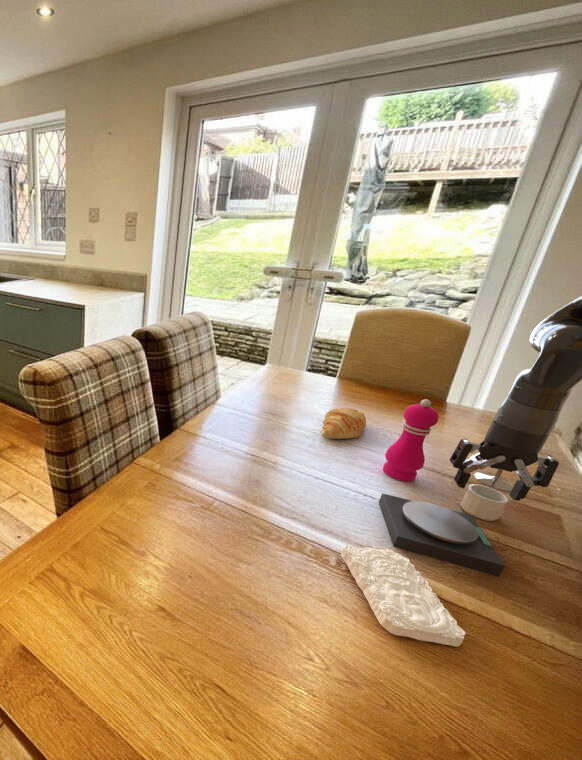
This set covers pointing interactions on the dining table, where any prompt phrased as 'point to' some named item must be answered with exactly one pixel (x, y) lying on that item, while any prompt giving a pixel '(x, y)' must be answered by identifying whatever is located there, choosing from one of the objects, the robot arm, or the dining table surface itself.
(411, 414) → the pepper mill
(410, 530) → the scale
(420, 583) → the carved plaster tablet
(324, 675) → the dining table surface
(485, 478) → the wine glass
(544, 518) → the dining table surface
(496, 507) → the white short hollow cylinder
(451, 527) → the scale pan
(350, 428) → the croissant
